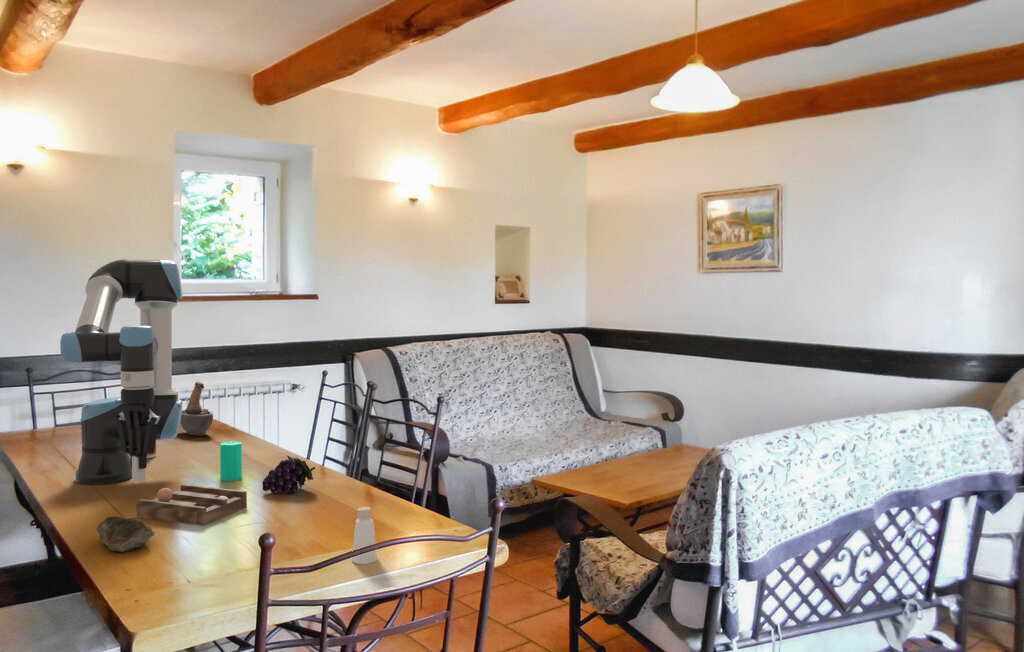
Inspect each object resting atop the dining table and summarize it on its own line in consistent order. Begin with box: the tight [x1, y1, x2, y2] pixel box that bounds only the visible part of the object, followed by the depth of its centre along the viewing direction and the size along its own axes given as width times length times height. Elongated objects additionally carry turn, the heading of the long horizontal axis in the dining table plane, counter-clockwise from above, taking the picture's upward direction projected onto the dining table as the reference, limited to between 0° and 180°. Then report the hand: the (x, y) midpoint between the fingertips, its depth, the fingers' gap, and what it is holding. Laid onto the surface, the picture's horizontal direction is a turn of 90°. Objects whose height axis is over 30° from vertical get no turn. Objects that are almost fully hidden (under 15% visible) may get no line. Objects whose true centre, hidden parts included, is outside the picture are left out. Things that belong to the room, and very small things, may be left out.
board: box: [135, 483, 248, 527], centre depth 194 cm, size 20×16×4 cm
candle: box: [219, 440, 243, 482], centre depth 227 cm, size 6×6×12 cm
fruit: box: [261, 454, 316, 494], centre depth 214 cm, size 10×11×15 cm
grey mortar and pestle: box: [180, 381, 214, 437], centre depth 291 cm, size 15×17×20 cm
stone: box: [95, 515, 155, 553], centre depth 169 cm, size 13×8×8 cm
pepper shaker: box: [351, 506, 378, 565], centre depth 162 cm, size 5×5×11 cm
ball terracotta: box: [156, 487, 173, 502], centre depth 192 cm, size 4×4×4 cm
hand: (138, 481), depth 194 cm, fingers closed
